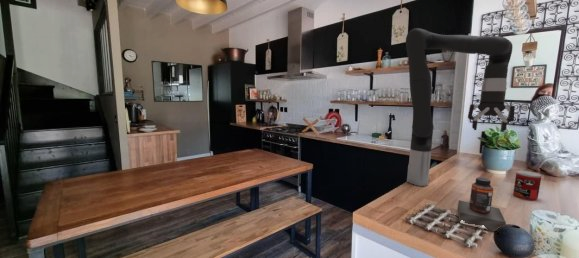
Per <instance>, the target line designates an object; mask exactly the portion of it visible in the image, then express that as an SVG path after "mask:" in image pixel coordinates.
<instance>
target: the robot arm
mask: <svg viewBox="0 0 579 258" xmlns="http://www.w3.org/2000/svg"><path fill="white" fill-rule="evenodd" d="M405 47H406V53H407V57H408V58H407V59H408V60H407V61H408V73H409V74H408V75H409V92H410V98H411V99H410V100H411V103H412V104H411V105H412V125H411V139H410V149H409V158H408V159H409V160H408V166H407V176H406V183H407V182H409V183H408V184H411V185H413V184H414V186H418V187H420V186H421V187H424V186H428V185H429V176H430V168H431V167H430V166H431V159H432V158H431V157H432V147H433V146H432V145H433V137H434V136H433V134H434V133H433V132H434V122H433V118H432V112H431V104H432V103H431V101H432V92H433V91H432V88H433V86H432V75H431V72H430V69H429V66H428V64H427V60H426V56H425V50H443V51H449V52H455V53H461V54H469V55H472V54H473V55H475V54H479V55H485V56H486V55H487V56H489V57H488V63H487V64H486V66H485V69H484V73H483V79H482V80H483V81H482V84H481V90H480V91H481V92H480V98H479V99H480V100H479V103H478V104H470V105H469V109H468V114H467V118H468V119H469V120H471V121H472V125H471V126H472V129H473V130H474V131H477V129H478V120H479V119H480V118H481V117H482V116H486V117H489V116H490V117H491V116H492V117H498V118H499V119H500V120H501V121H502V122H501V123H500V131H499V132H500V133H504V132H505V131H506V130H507V126H508V123H509V122H510V123H511V122H514V121H515V108H516V107H515V105H505V100H506V93H507V88H508V82H507V81H508V71H509V63H510V61H511V57H512V53H513V43H512V41H511V40H509V39H508V38H507V37H504V36H496V35H495V36H494V35H492V36H491V35H490V36H489V35H488V36H487V35H486V36H481V35H468V34H467V35H466V34H448V35H447V34H438V33H434V32H431V31H428V30H426V29H423V28H420V27H419V28H418V27H417V28H413V29H411V30H409V31H408V33H407V35H406V38H405ZM477 108H478V110H479V112H478V113H477V114H476V115H475V116H473V114H474V111H475V110H476V109H477ZM505 109H506V111H507V112H508V117H507V118H506V117H505V116H504V115H503V111H504V110H505Z"/></svg>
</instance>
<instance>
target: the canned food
mask: <svg viewBox="0 0 579 258" xmlns="http://www.w3.org/2000/svg"><path fill="white" fill-rule="evenodd" d="M514 179H515V180H514V187H513V197H516V198H518V199H521V200H527V201H537V200H538V198H539V194H540V188H541V182H542V175H541V174H540V173H538V172H532V171H527V170H517V171H516V173H515V178H514Z"/></svg>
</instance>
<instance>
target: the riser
mask: <svg viewBox="0 0 579 258" xmlns="http://www.w3.org/2000/svg"><path fill="white" fill-rule="evenodd" d="M457 201H458V202H457V203H458V204H457V217H458V216H459V220H458V222H459V221H461V220H463V221H465V223H468V224H475V225H484V226H485V227H486V228H487V229H488V230H487V231H489V230H490V231H489V232H493V233H495V232H494V231H495V230H496V229H497V228H498V227H500V226H503V225H505V226H506V224H507V223H506V222H507V221H506V219H505V218H504V216H503V214H502V212H501V209H500V208H499V207H494V206H491V210H490V212H489V213H480V212H476V211H474V210H472V209H471V208H470V207H469V206H470V201H465V200H457Z"/></svg>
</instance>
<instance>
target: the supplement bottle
mask: <svg viewBox="0 0 579 258" xmlns="http://www.w3.org/2000/svg"><path fill="white" fill-rule="evenodd" d="M493 193H494V187H492V185H491V179H488V178H487V177H479V176H478V177H476V178H475V182H474V183H472V184H471V189H470V195H469V198H470V199H469V202H470V206H469V207H470V208H471V209H472V210H474V211H476V212H480V213H489V212H490V210H491V207H492V203H493V202H492V201H493V195H494V194H493Z"/></svg>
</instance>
